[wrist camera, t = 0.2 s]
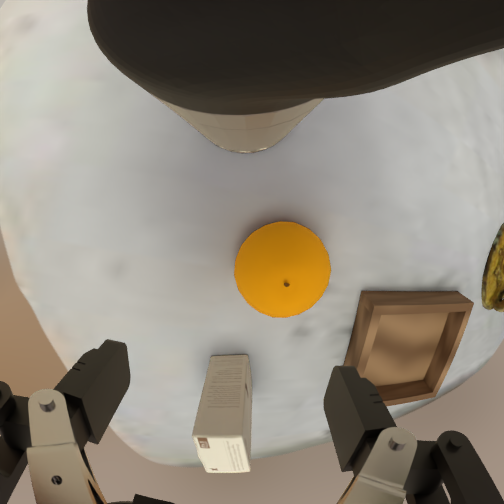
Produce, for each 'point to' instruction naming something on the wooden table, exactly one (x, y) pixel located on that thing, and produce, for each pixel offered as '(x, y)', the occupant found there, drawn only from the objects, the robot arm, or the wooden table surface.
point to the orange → (282, 269)
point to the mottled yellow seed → (494, 275)
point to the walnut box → (407, 341)
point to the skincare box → (225, 416)
